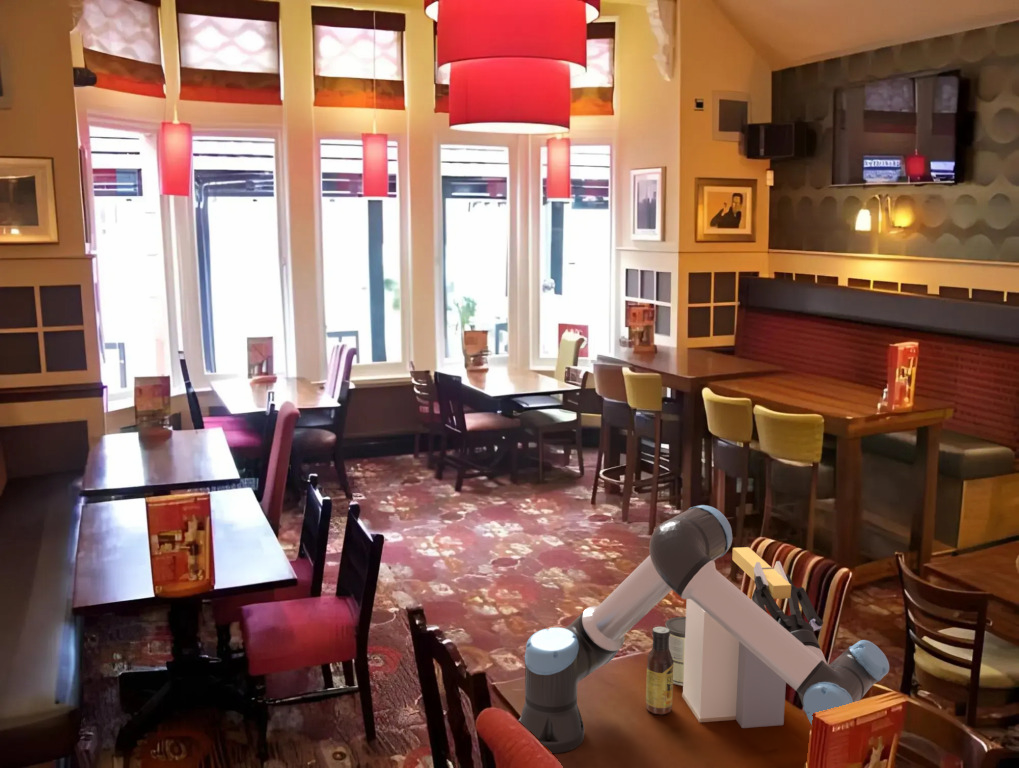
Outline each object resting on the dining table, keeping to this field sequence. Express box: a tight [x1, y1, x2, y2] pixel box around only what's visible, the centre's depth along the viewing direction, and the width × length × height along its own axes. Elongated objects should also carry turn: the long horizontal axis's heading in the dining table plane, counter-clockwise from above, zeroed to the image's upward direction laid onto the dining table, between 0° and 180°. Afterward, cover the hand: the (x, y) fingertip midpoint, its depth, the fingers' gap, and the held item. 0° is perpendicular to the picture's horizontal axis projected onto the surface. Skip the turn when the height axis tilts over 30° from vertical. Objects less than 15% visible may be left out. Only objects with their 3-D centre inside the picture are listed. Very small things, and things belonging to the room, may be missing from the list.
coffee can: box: [664, 616, 686, 687], centre depth 234 cm, size 10×10×14 cm
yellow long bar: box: [731, 546, 791, 600], centre depth 210 cm, size 24×4×3 cm, turn 7°
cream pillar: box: [681, 599, 739, 723], centre depth 218 cm, size 12×9×27 cm
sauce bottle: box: [645, 626, 674, 715], centre depth 218 cm, size 6×6×20 cm
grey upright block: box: [736, 641, 787, 729], centre depth 216 cm, size 12×10×22 cm
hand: (766, 565), depth 207 cm, fingers closed on yellow long bar, 4 cm apart
